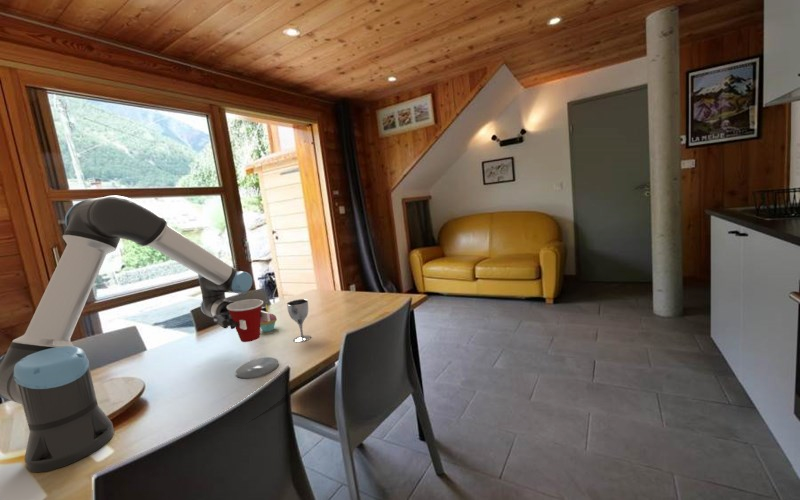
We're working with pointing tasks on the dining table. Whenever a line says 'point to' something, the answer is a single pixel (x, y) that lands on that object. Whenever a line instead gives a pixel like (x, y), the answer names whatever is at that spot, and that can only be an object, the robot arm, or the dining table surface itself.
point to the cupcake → (268, 322)
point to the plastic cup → (247, 318)
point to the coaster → (257, 368)
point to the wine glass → (299, 315)
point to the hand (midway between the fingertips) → (257, 321)
